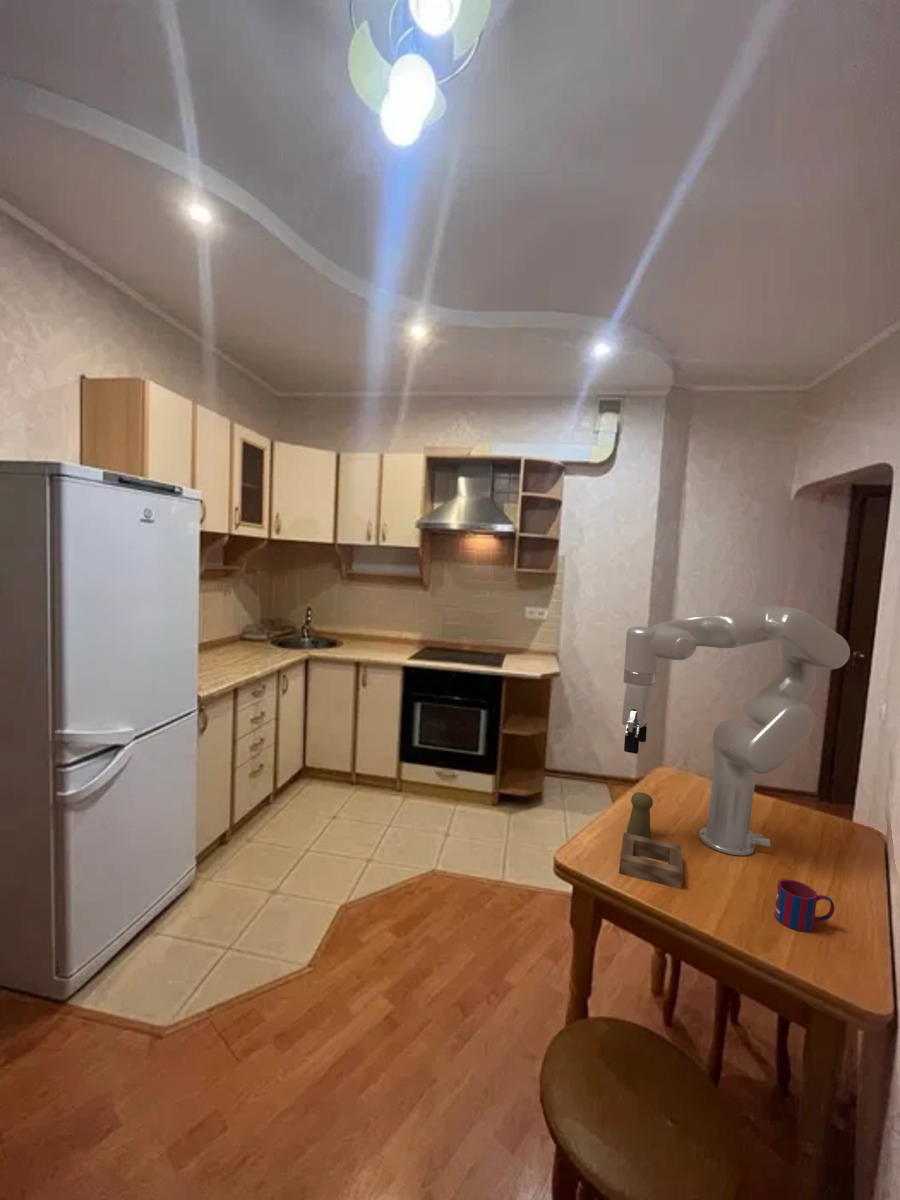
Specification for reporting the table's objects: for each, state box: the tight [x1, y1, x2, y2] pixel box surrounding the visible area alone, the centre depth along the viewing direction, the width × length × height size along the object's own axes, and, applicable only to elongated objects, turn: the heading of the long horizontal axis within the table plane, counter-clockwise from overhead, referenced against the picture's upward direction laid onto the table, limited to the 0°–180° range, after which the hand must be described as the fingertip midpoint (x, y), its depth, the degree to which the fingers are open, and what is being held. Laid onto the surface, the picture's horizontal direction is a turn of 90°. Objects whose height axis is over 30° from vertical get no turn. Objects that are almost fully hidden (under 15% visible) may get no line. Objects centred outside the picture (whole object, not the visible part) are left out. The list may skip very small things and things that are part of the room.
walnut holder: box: [618, 832, 684, 889], centre depth 130 cm, size 13×13×4 cm
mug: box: [774, 878, 835, 933], centre depth 112 cm, size 7×10×7 cm
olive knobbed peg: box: [625, 791, 654, 839], centre depth 144 cm, size 6×6×11 cm
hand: (635, 746), depth 138 cm, fingers open, 9 cm apart
